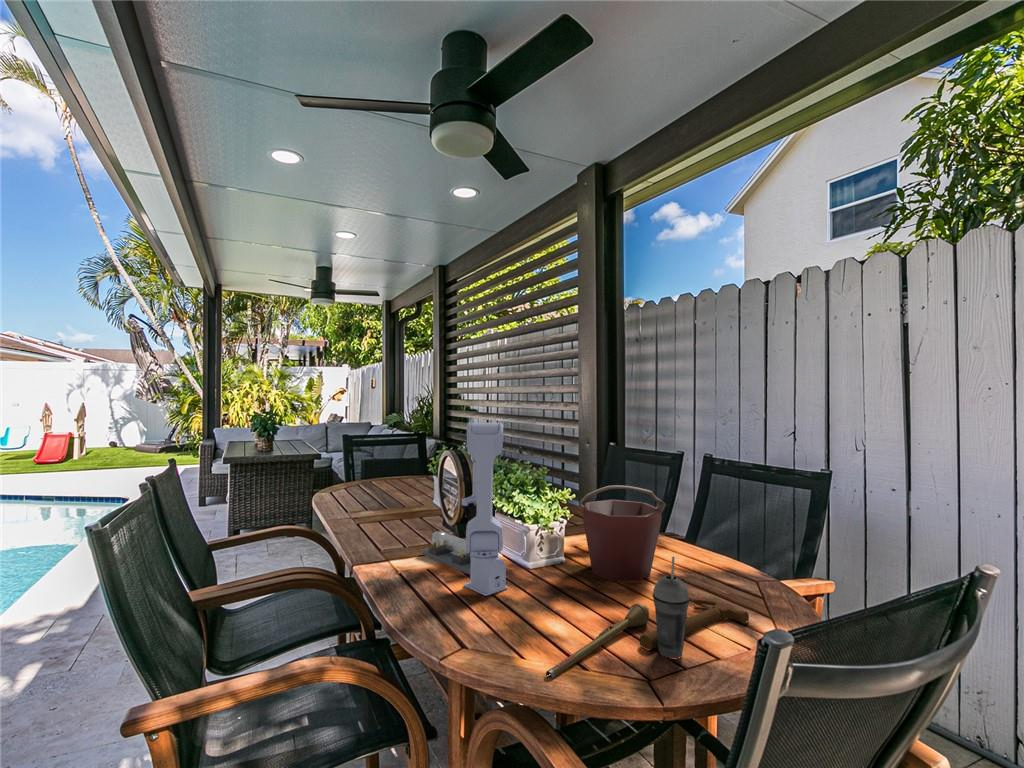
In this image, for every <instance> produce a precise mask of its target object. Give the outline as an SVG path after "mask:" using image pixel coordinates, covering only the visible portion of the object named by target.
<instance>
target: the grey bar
mask: <svg viewBox="0 0 1024 768" xmlns="http://www.w3.org/2000/svg"><path fill="white" fill-rule="evenodd" d="M431 539H432V541H431V542H432V545H433V547H436V542H437V541H439V542H440V547H442V548H445V549H447V550H450V551H453V552H455V553H458V554H460V550H464V556H466V557H468V558H471V556H470V553H468V552H467V551H466V539H464V538H460V537H458V536H455V535H452V534H449V533H447V532H446V531H440V530H438V531H434V532H432V537H431Z"/></svg>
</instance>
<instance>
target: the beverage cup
mask: <svg viewBox="0 0 1024 768" xmlns="http://www.w3.org/2000/svg"><path fill="white" fill-rule="evenodd" d="M675 560H676V559H675V556H672V557H671V573H670V575H666V576H665V575H664V576H663V577H661V578H660V579H657V582H655V585H654V588H653V590H652V591H653V593H652V598H653V606H654V608H655V609H654V610H655V611H654V612H655V620H656V621H655V623H656V630H657V637H658V653H659V652H660V654H661V655H663V656H665V657H668V658H679V657H681V656H682V657H683V651H684V647H685V646H684V645H685V636H686V635H685V625H686V618H687V613H688V612H687V611H688V609H689V604H690V601H691V598H690V592H689V590H688V587H687V586H686V584H685V582H684V581H682V579H681V578H679V577H677V576H675ZM660 654H659V655H660ZM661 655H660V656H661Z"/></svg>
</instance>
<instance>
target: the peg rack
mask: <svg viewBox="0 0 1024 768" xmlns="http://www.w3.org/2000/svg"><path fill="white" fill-rule="evenodd" d="M422 554H423V555H425V556H424V557H426V556H427V557H426V558H428V557H429V558H428V559H430V558H431V560H433V559H434V560H433V561H435V560H436V562H438V563H440V562H441V563H440V564H442V563H443V565H446V566H448V567H450V568H452V569H455V570H456V571H460V572H462V573H465V574H467V575H470V574H471V558H468V557H466V556H464V550H460V554H458V553H455V552H453V551H450V550H447V549H445V548H442V547H440V542H439V541H437V542H436V546H432V547H429V548H425V549H421V555H422ZM423 555H422V556H423Z"/></svg>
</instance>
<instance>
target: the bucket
mask: <svg viewBox="0 0 1024 768" xmlns="http://www.w3.org/2000/svg"><path fill="white" fill-rule="evenodd" d="M608 490H609V491H610V490H631V491H636V492H640V493H643V494H646V495H650V498H651V499H652V500H653V501H654V502H655V503H657V504H656V506H654V505H651V504H649V503H646V502H641V501H633V500H632V501H631V500H620V499H606V500H605V499H604V500H596V501H587V499H588V498H591V497H593V496H596V495H597V494H599V493H603V492H606V491H608ZM586 501H587V502H586ZM584 502H585V503H584ZM583 503H584V505H583ZM666 506H667V504H666V503H665V502H664V500H662V499H660V498H658V497H657V496H656V495H655V494H654V492H653V491H652V490H649V489H645V488H641V487H637V486H631V485H621V484H620V485H617V484H615V485H607V486H604V487H600V488H598V489H595V490H593V491H591V492H588V493H587V494H585V496H583V498H581V500H579V503H578V507H579V508H580V509H581V510H582V522H583V528H584V532H585V533H584V534H585V537H586V538H585V539H586V544H587V550H588V554H589V555H588V556H589V561H590V567H591V572H592V574H593V575H595V576H598V577H600V578H603V579H606V580H609V581H613V582H640V581H642V580H643V579H645V578H646V577H648V576H649V575H651V571H652V568H653V564H654V558H655V557H654V556H655V553H656V549H657V543H658V540H659V535H660V528H661V526H662V525H661V524H662V515H663V514H662V513H663V512H664V511H665V508H666Z"/></svg>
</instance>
